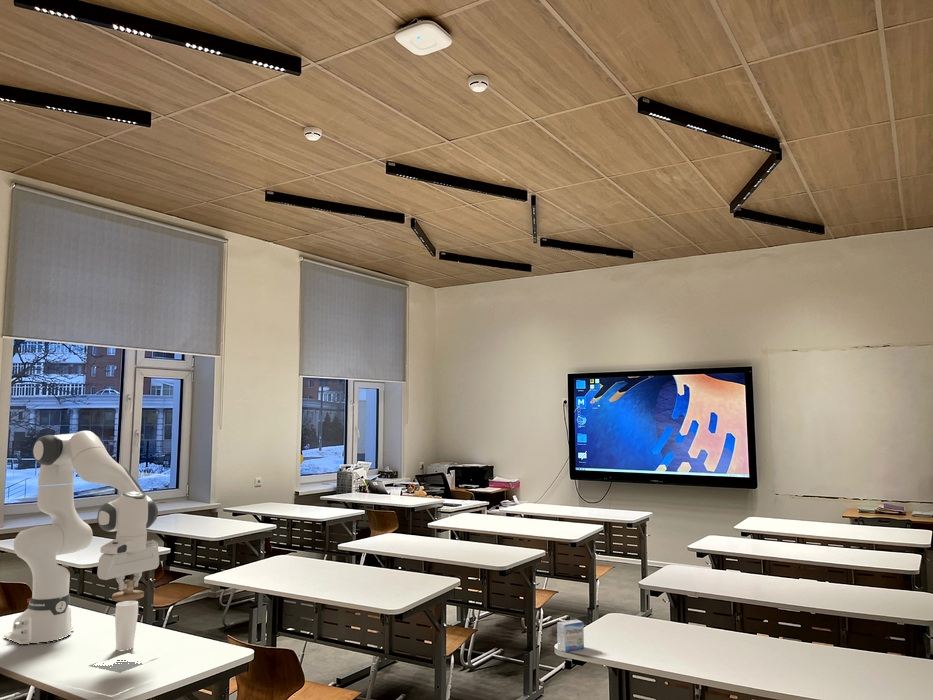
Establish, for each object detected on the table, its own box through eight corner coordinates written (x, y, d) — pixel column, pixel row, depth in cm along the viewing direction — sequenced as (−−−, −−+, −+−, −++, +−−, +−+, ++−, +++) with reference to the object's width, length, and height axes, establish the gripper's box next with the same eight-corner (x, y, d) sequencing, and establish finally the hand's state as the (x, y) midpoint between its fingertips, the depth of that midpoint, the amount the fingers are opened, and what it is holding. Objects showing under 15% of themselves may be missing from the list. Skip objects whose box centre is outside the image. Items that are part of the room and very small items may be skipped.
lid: (105, 599, 209) (106, 582, 210) (129, 592, 217) (130, 576, 218) (126, 602, 206) (127, 584, 206) (150, 595, 214) (151, 578, 214)
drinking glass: (120, 654, 217) (123, 606, 219) (108, 650, 221) (111, 603, 222) (140, 648, 223) (142, 602, 225) (128, 645, 226) (131, 599, 228)
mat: (88, 667, 206) (88, 665, 206) (127, 653, 218) (127, 652, 218) (120, 673, 200) (120, 672, 200) (158, 659, 213) (158, 657, 213)
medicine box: (565, 652, 219) (564, 625, 220) (557, 648, 223) (556, 621, 224) (584, 648, 223) (583, 621, 224) (576, 645, 227) (575, 618, 228)
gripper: (151, 538, 224) (148, 580, 223) (95, 548, 206) (92, 594, 204) (164, 539, 222) (162, 582, 220) (109, 549, 203) (106, 596, 201)
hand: (128, 588), depth 212 cm, fingers closed on lid, 3 cm apart
